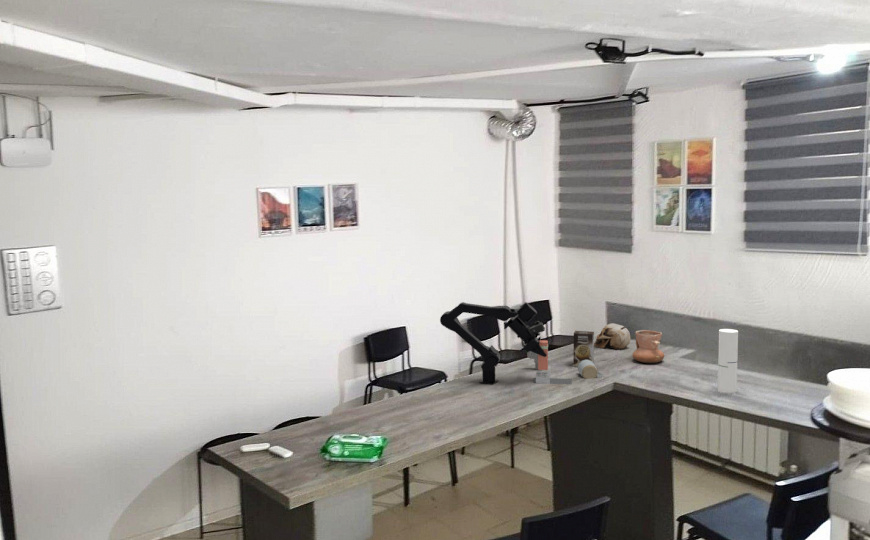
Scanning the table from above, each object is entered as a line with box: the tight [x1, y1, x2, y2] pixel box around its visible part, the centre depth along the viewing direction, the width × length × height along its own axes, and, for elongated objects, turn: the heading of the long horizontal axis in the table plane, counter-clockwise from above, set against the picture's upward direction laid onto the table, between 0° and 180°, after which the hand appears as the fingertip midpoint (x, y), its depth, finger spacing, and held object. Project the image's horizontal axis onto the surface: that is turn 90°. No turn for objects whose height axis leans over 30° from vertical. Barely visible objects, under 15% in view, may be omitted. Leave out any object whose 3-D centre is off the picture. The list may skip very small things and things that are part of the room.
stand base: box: [533, 371, 573, 385], centre depth 306 cm, size 16×8×4 cm, turn 79°
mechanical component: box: [525, 350, 539, 371], centre depth 325 cm, size 3×10×10 cm, turn 53°
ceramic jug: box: [632, 329, 665, 364], centre depth 338 cm, size 18×14×14 cm
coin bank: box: [594, 322, 631, 350], centre depth 368 cm, size 16×17×13 cm
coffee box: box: [572, 330, 595, 368], centre depth 333 cm, size 9×6×16 cm
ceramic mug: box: [577, 360, 605, 379], centre depth 312 cm, size 11×8×8 cm
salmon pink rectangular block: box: [537, 339, 549, 371], centre depth 305 cm, size 4×4×12 cm
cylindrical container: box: [717, 328, 739, 394], centre depth 288 cm, size 7×7×25 cm
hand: (546, 355), depth 305 cm, fingers closed on salmon pink rectangular block, 4 cm apart
